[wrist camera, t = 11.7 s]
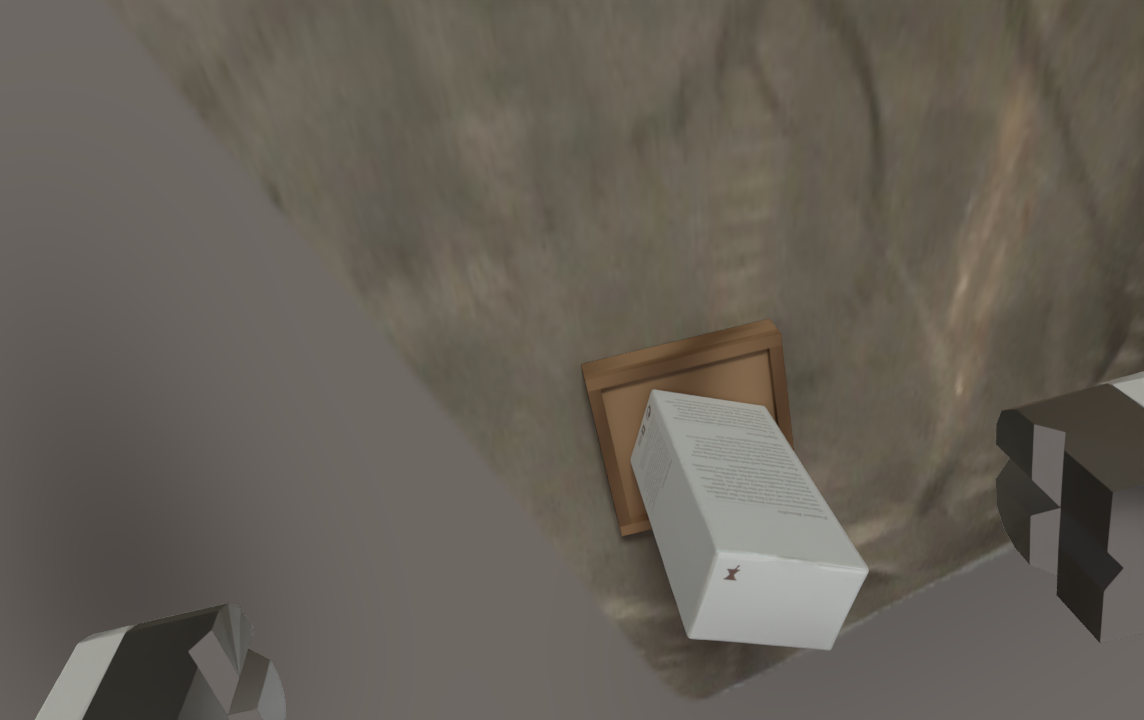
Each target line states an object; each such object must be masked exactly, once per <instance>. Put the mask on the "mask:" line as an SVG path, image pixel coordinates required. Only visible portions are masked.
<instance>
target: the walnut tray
mask: <svg viewBox="0 0 1144 720" xmlns="http://www.w3.org/2000/svg"><path fill="white" fill-rule="evenodd" d="M581 367H582V371H583V375H584V379H585V383H586V388H587V392H588V396H589V400H590V405H591V409H592V413H593V417H594V421H595V426H596V430H597V434H598V438H599V442H600V447H601V451H602V455H603V459H604V464H605V468H606V472H607V476H608V480H609V485H610V489H611V493H612V497H613V502H614V506H615V510H616V514H617V518H618V522H619V526H620V530H621V534H622V536H625V535H629V534H634V533H638V532H642V531H646V530H650V529H652V526H651V523H650V520H649V517H648V514H647V511H646V508H645V505H644V502H643V499H642V496H641V493H640V489H639V486H638V483H637V480H636V477H635V474H634V471H633V468H632V465H631V461H630V460H631V456H632V452H633V449H634V446H635V443H636V439H637V436H638V433H639V430H640V426H641V423H642V420H643V417H644V413H645V410H646V407H647V403H648V400H649V396H650V393H651V391H652V390H653V389H656V390H661V391H667V392H674V393H681V394H687V395H694V396H701V397H707V398H714V399H721V400H727V401H734V402H741V403H747V404H754V405H761V406H765V407H766V408H767V410H768V411H769V413H770V415H771V416H772V418H773V419H774V421H775V422H776V424H777V425H778V427H779V429H780V430H781V432H782V433H783V435H784V436H785V438H786V440H787V441H788V443H789V444H790V446H791V448H792V449H793V451H794V446H793V437H792V428H791V419H790V410H789V401H788V392H787V383H786V374H785V365H784V356H783V347H782V338H781V333H780V332H779V330H778V329H777V328H776V326H775V325H774V324H773V323H772V321H771V320H770V319H766V320H762V321H758V322H753V323H749V324H745V325H741V326H737V327H733V328H729V329H725V330H720V331H716V332H712V333H708V334H704V335H700V336H696V337H691V338H687V339H683V340H679V341H675V342H671V343H667V344H662V345H658V346H654V347H650V348H646V349H642V350H638V351H634V352H629V353H625V354H621V355H617V356H613V357H609V358H605V359H600V360H596V361H592V362H588V363H584V364H581Z"/></svg>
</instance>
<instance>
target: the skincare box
mask: <svg viewBox="0 0 1144 720" xmlns="http://www.w3.org/2000/svg"><path fill="white" fill-rule="evenodd" d="M630 461H631V465H632V468H633V471H634V474H635V477H636V480H637V483H638V486H639V489H640V493H641V496H642V499H643V502H644V505H645V508H646V511H647V514H648V517H649V520H650V523H651V526H652V529H653V533H654V536H655V539H656V542H657V545H658V548H659V551H660V554H661V557H662V560H663V564H664V567H665V570H666V573H667V576H668V579H669V582H670V585H671V588H672V591H673V594H674V597H675V600H676V603H677V606H678V610H679V613H680V616H681V619H682V622H683V625H684V628H685V631H686V634H687V636H688V638H690V639H699V640H714V641H726V642H739V643H750V644H762V645H774V646H787V647H798V648H810V649H821V650H831V648H832V646H833V644H834V642H835V640H836V637H837V635H838V633H839V631H840V629H841V627H842V624H843V622H844V620H845V618H846V616H847V614H848V612H849V610H850V608H851V606H852V604H853V602H854V600H855V598H856V596H857V594H858V592H859V590H860V588H861V586H862V584H863V582H864V580H865V578H866V576H867V574H868V572H869V569H868V567H867V565H866V563H865V562H864V560H863V559H862V557H861V556H860V554H859V553H858V551H857V550H856V548H855V546H854V545H853V544H852V542H851V540H850V539H849V537H848V536H847V534H846V533H845V531H844V530H843V528H842V527H841V525H840V523H839V522H838V520H837V519H836V517H835V515H834V514H833V512H832V511H831V509H830V508H829V506H828V504H827V503H826V501H825V500H824V498H823V497H822V495H821V493H820V492H819V490H818V489H817V487H816V485H815V484H814V482H813V481H812V479H811V478H810V476H809V474H808V473H807V471H806V470H805V468H804V467H803V465H802V463H801V462H800V460H799V459H798V457H797V455H796V454H795V452H794V451H793V449H792V448H791V446H790V444H789V443H788V441H787V440H786V438H785V436H784V435H783V433H782V432H781V430H780V429H779V427H778V425H777V424H776V422H775V421H774V419H773V418H772V416H771V415H770V413H769V411H768V410H767V408H766V407H765V406H761V405H754V404H747V403H741V402H734V401H727V400H721V399H714V398H707V397H701V396H694V395H687V394H681V393H674V392H667V391H661V390H656V389H653V390H652V391H651V393H650V396H649V400H648V403H647V407H646V410H645V413H644V417H643V420H642V423H641V426H640V430H639V433H638V436H637V439H636V443H635V446H634V449H633V452H632V456H631V460H630Z"/></svg>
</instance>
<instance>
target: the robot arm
mask: <svg viewBox="0 0 1144 720" xmlns="http://www.w3.org/2000/svg"><path fill="white" fill-rule="evenodd" d="M996 445H997V446H998V447H999V448H1000V449H1001V450H1002V451H1003V452H1004V453H1005V454H1006V455H1007V456H1008V457H1009V458H1010V459H1009V460H1008V462H1007V463H1006V465H1005V466H1004V467H1003V469H1002V470H1001V472H1000V473H999V475H998V476H997V478H996V504H997V508H998V511H999V514H1000V517H1001V520H1002V524H1003V527H1004V530H1005V532H1006V533H1007V535H1008V537H1009V538H1010V540H1011V542H1012V543H1013V545H1014V547H1015V548H1016V549H1017V551H1018V552H1019V553H1020V554H1021V555H1022V556H1023V558H1024V559H1025V560H1026V561H1027V562H1028V563H1029V564H1030V565H1032V566H1034V567H1037V568H1039V569H1042V570H1044V571H1047V572H1049V573H1052V574H1054V575H1057V596H1058V597H1059V598H1060V599H1061V601H1062V602H1063V603H1064V604H1065V605H1066V606H1067V607H1068V608H1069V609H1070V610H1071V612H1072V613H1073V614H1074V615H1075V616H1076V617H1077V618H1078V619H1079V621H1080V622H1081V623H1082V624H1083V625H1084V626H1085V627H1086V628H1087V629H1088V630H1089V631H1090V633H1091V634H1092V635H1093V636H1094V637H1095V638H1096V639H1097V640H1098V642H1099V643H1104V642H1108V641H1113V640H1117V639H1122V638H1127V637H1131V636H1136V635H1140V634H1144V371H1143V372H1139V373H1135V374H1132V375H1128V376H1125V377H1121V378H1117V379H1114V380H1110V381H1107V382H1103V383H1100V384H1097V385H1096V386H1095V387H1091V388H1087V389H1083V390H1079V391H1075V392H1071V393H1067V394H1064V395H1060V396H1056V397H1052V398H1048V399H1044V400H1040V401H1036V402H1032V403H1028V404H1024V405H1020V406H1016V407H1013V408H1009V409H1005V410H1002V411H1001V413H1000V416H999V418H998V421H997V423H996ZM253 631H254V629H253V627H252V626H251V624H250V623H249V621H248V619H247V618H246V616H245V614H244V612H243V611H242V609H241V608H240V607H239V606H236V605H233V604H230V603H226V604H222V605H217V606H213V607H209V608H204V609H200V610H195V611H191V612H187V613H182V614H178V615H173V616H169V617H165V618H160V619H156V620H151V621H147V622H142V623H138V624H137V625H134V626H127V627H123V628H118V629H114V630H110V631H106V632H102V633H98V634H94V635H91V636H89V637H88V638H86V639H85V640H83V641H81V642H80V643H78V644H77V646H76V648H75V650H74V651H73V653H72V655H71V657H70V659H69V660H68V662H67V664H66V666H65V667H64V669H63V671H62V673H61V675H60V676H59V678H58V680H57V682H56V683H55V685H54V687H53V689H52V690H51V692H50V694H49V696H48V698H47V699H46V701H45V703H44V705H43V706H42V708H41V710H40V712H39V714H38V715H37V717H36V719H35V720H286V707H285V696H284V692H283V689H282V685H281V682H280V678H279V676H278V674H277V672H276V670H275V668H274V666H273V664H272V662H271V660H269V659H267V658H265V657H263V656H261V655H259V654H258V653H255V652H254V651H252V650H250V649H248V647H249V644H250V641H251V638H252V634H253Z"/></svg>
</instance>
